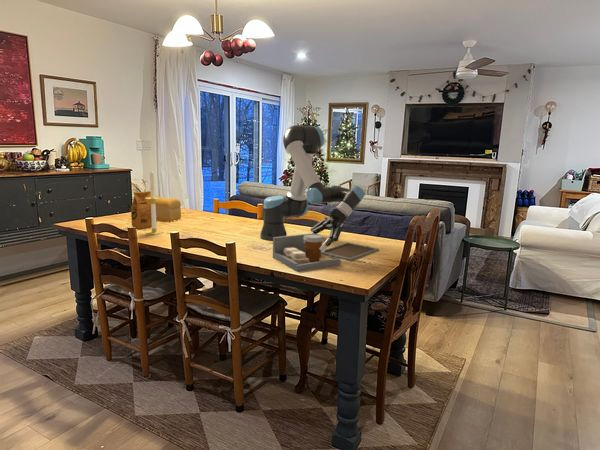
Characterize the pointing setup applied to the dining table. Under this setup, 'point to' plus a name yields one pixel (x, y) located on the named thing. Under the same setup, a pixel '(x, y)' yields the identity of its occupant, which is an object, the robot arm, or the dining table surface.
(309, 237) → the disposable coffee cup
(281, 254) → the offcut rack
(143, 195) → the coffee package
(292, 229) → the dining table surface
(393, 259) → the dining table surface
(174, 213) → the bread
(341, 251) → the empty picture frame
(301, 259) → the offcut stack
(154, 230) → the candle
